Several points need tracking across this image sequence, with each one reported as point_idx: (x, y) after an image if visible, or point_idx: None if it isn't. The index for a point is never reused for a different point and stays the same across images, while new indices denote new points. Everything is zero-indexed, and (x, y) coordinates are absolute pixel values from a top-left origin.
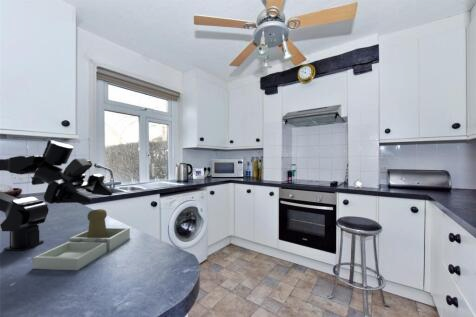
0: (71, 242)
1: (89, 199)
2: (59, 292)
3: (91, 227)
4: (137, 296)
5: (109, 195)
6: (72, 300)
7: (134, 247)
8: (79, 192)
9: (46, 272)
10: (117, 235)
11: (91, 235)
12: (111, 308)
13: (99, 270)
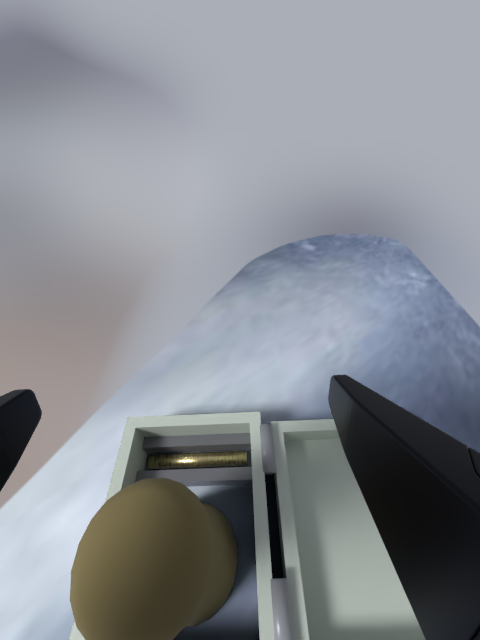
0: (303, 635)
1: (351, 383)
2: (469, 388)
3: (214, 557)
4: (395, 271)
5: (36, 426)
6: (462, 343)
7: (228, 369)
8: (462, 464)
9: None
10: (213, 415)
11: (225, 552)
12: (433, 284)
13: (366, 372)
